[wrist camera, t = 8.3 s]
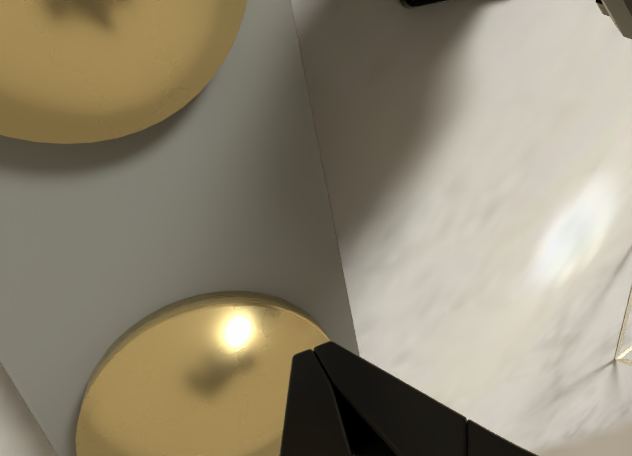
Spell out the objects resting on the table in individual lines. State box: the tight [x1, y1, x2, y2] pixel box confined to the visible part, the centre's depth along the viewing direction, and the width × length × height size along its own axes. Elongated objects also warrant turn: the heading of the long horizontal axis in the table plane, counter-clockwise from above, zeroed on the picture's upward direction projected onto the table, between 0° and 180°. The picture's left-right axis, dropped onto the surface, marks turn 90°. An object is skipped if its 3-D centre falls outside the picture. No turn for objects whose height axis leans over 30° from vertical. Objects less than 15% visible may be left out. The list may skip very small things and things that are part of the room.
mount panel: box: [0, 0, 360, 456], centre depth 16 cm, size 12×24×4 cm, turn 13°
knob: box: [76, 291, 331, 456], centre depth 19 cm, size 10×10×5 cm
